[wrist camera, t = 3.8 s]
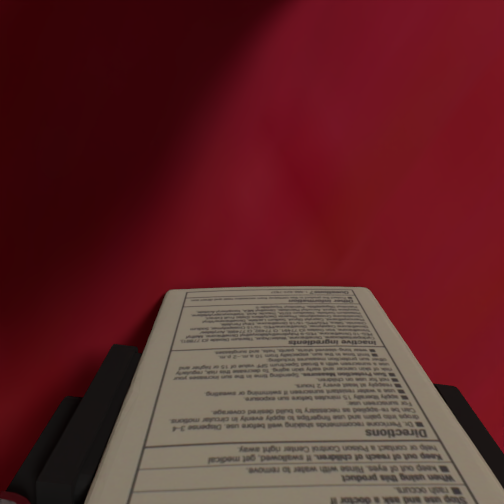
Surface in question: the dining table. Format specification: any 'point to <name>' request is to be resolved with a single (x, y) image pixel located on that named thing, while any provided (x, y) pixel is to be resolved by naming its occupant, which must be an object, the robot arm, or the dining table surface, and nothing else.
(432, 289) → the dining table surface
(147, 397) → the skincare box
